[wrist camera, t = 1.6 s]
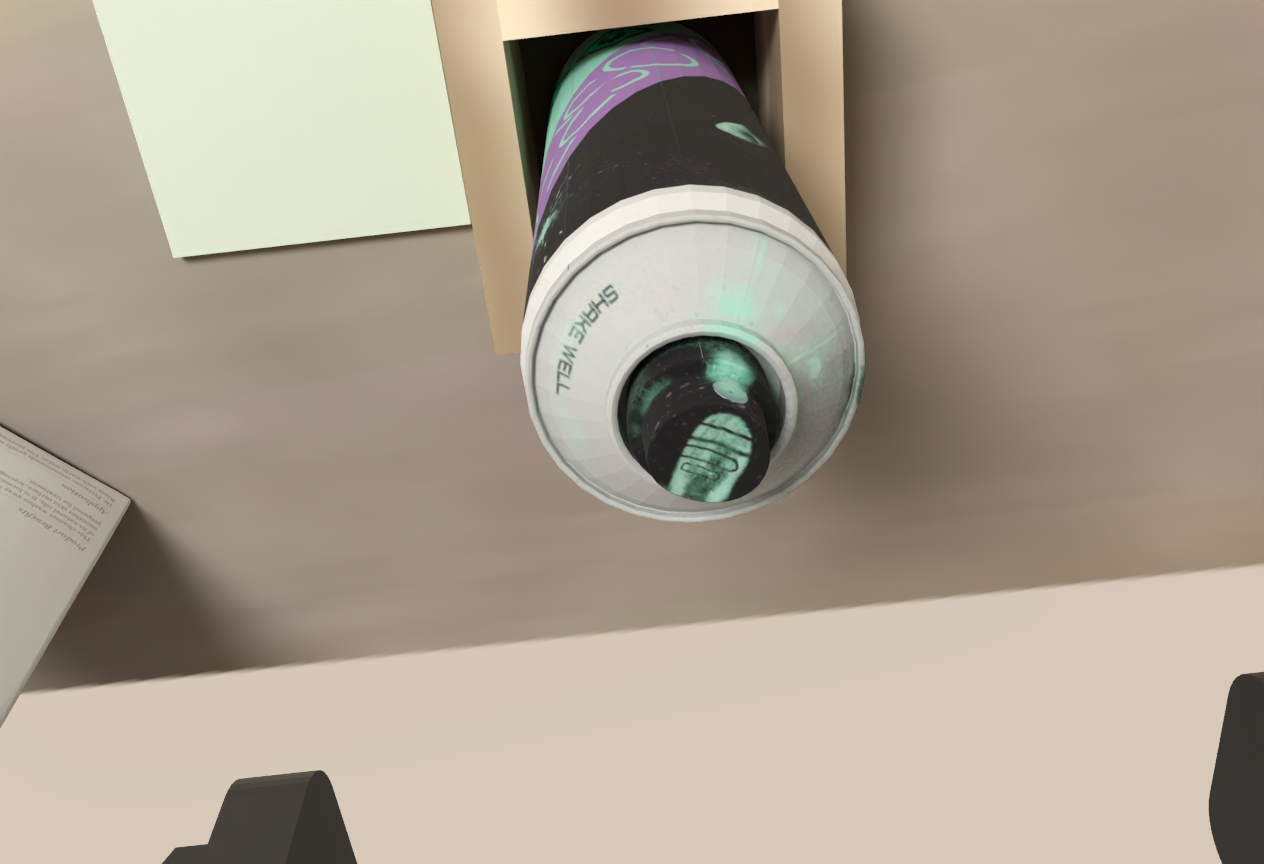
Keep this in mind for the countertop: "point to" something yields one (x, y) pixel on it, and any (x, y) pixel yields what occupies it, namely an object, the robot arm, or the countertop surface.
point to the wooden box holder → (567, 3)
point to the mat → (287, 118)
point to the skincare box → (44, 551)
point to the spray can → (679, 290)
